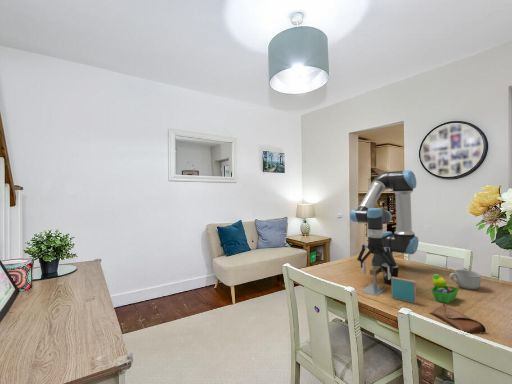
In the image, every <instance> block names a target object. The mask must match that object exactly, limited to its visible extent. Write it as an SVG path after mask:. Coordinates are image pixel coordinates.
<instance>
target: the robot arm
mask: <svg viewBox="0 0 512 384" xmlns="http://www.w3.org/2000/svg"><path fill="white" fill-rule="evenodd" d="M369 185H370V187H369V189H368V191H367V192H366V194H365V196H364V197H363V199H362V201H361V203H360V204H359V206H358V207H357V209H352V210H351V211H350V213H349V218H350V220H351V222H353V223H365V224H367V236H368V237H367V244H366V243H365V244H362V245H361V250H360V252H359V255H358V257H357V258H356V261H357V262H360V268H361V269H362V275H363V276H364V275H366V274H367V270H366V268H367V267H366V266H367V265H366V264H367V263H366V260H367V258H368V257H369V256H370V255H371V254H372V259H371V266H372V267H375V266H380V265H382V264H385V263H387V264H388V265H389V266H388V280H390V279H391V273H393V267H395V266H396V265H398V264H397V261H396V260H395V257H394V255H393V253H399V254H405V255H414V254H416V253H417V250H418V248H419V237H417V236H416V235H415V232H414V231H413V230H412V228H413V226H412V198H411V196H412V195H411V194H412V193H413V192H414V189H416V187H417V177H416V175H415V173H414V171H412V170H404V169H403V170H396V171H395V170H394V171H385V172H382V173H381V174H379V175H377V176H376V177H375V178H374V179H373V180H372V181H371V183H370V184H369ZM386 190H392V193H393V194H394V195H395V214H396V215H395V216H396V217H395V218H396V220H395V221H396V222H395V223H396V230H395V231H394V232H392V231H384V225H387V224H388V223H390V222H391V221H392V220H393V216H392V213H391V212H390V211H388V210H383V208H380V207H379V208H378V207H375V205H376V203H377V202H378V200H379V198H380V197H381V194H382V193H383V192H385V191H386ZM366 249H368V251H367V252H366V253H365V251H366ZM381 267H382V266H381Z"/></svg>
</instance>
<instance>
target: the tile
mask: <svg viewBox="0 0 512 384" xmlns="http://www.w3.org/2000/svg"><path fill="white" fill-rule="evenodd" d="M416 284H417V283H416V280H412V279H408V278H407V279H406V278H402V277H398V278H397V277H391V285H390V286H391V298H392V299H395V300H399V301H404V302H407V303H411V304H417V288H416V287H417V285H416Z"/></svg>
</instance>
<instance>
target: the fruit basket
mask: <svg viewBox="0 0 512 384" xmlns="http://www.w3.org/2000/svg"><path fill="white" fill-rule="evenodd" d="M432 284H433V286H434V287H432V288H431V289H430V291H431V292H432V295H433V298H434V301H437V302H441V303H443V304H450V303H451V302H452V301H454V300H456V297H457V295H458V292H459V288H458V287H455V286H451V285H447V281H446V280H445V278H443V277H442V276H441V275H439V274H437V273H434V274H433V276H432Z"/></svg>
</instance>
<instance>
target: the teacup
mask: <svg viewBox="0 0 512 384" xmlns="http://www.w3.org/2000/svg"><path fill="white" fill-rule="evenodd" d="M453 276H454V278H453ZM481 279H482V274H481V273H478V272H476V271H473V270H469V269H461V268H460V269H459V268H458V269H455V270H454V272H451V273H449V280H451V281H452V282H455V284H456V285H458V286H459V287H460V288H463V289H465V290H470V289H471V291H472V290H473V289H474V290H476V289H478V288H480V287H481V283H482V280H481Z"/></svg>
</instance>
